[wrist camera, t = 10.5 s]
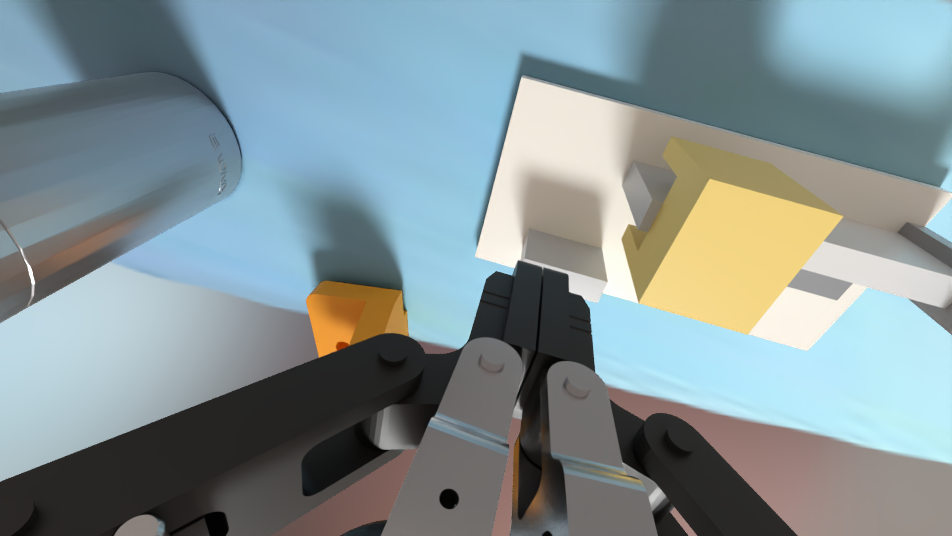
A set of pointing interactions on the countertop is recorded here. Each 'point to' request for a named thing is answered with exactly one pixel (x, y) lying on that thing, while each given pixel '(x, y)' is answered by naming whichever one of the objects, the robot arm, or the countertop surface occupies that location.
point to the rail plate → (647, 185)
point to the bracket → (353, 314)
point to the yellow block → (725, 237)
